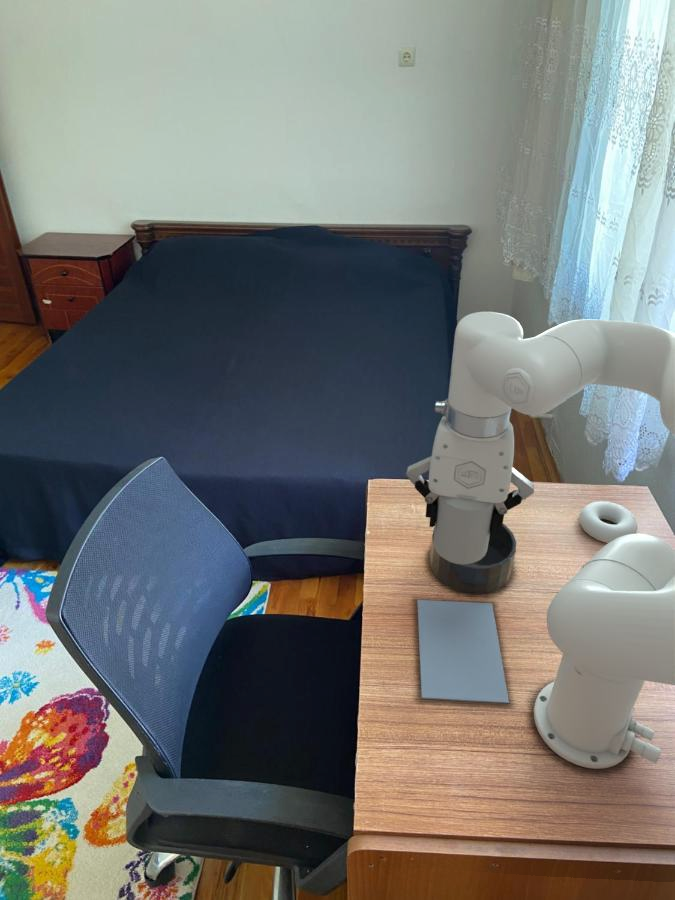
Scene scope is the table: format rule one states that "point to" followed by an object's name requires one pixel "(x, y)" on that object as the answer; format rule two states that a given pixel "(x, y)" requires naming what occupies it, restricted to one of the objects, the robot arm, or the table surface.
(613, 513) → the donut
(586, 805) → the table surface
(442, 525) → the can
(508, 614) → the table surface
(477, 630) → the cloth
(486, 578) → the pot
